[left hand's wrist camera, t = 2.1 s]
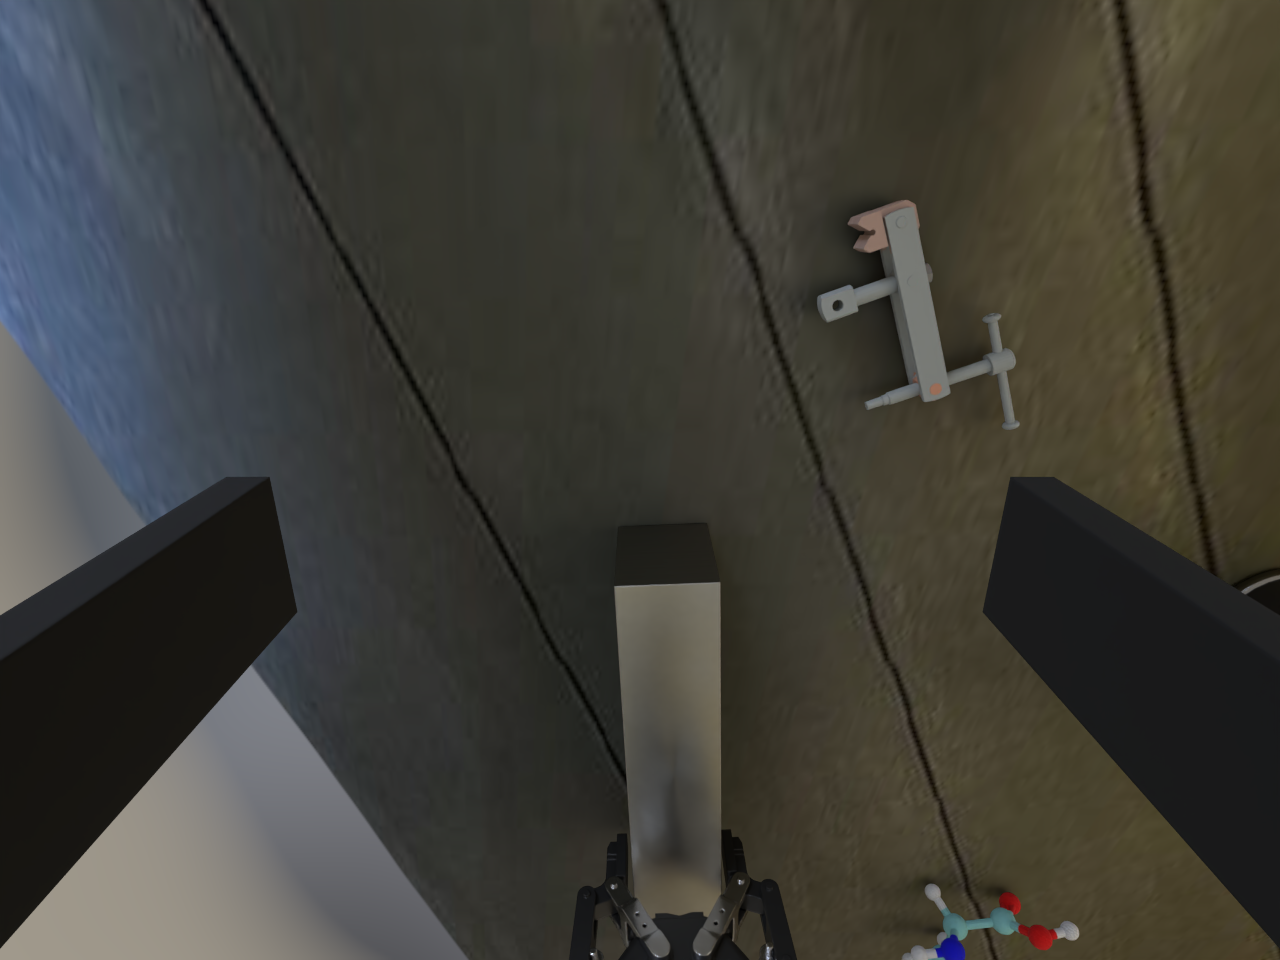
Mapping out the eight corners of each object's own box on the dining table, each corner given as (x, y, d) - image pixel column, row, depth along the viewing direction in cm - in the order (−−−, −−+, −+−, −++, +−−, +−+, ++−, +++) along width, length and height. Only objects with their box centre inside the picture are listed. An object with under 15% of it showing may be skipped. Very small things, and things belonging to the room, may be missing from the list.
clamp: (806, 237, 37) (990, 169, 36) (797, 236, 39) (971, 172, 38) (868, 481, 42) (1031, 429, 41) (857, 469, 44) (1012, 419, 43)
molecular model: (989, 1011, 57) (1014, 1093, 48) (884, 932, 60) (888, 994, 51) (1059, 895, 57) (1098, 954, 48) (949, 821, 60) (966, 863, 51)
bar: (618, 526, 45) (613, 586, 38) (706, 522, 45) (720, 582, 38) (636, 831, 55) (636, 928, 47) (710, 829, 55) (721, 925, 47)
